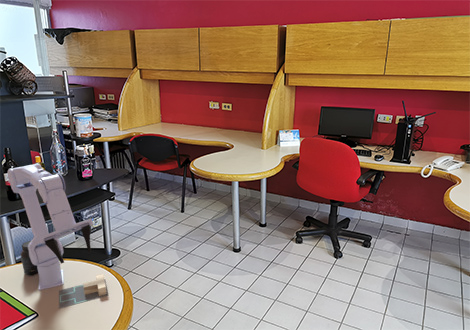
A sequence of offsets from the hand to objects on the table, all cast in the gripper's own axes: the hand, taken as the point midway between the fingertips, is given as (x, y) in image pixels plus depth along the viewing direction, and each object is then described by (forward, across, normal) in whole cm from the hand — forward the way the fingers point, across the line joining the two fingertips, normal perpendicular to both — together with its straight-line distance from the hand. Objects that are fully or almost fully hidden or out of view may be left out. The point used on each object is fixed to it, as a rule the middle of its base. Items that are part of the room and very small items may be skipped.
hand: (76, 257), depth 101 cm
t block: (+12, 0, +26) cm, 29 cm away
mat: (+12, -4, +26) cm, 29 cm away
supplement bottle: (-2, -19, +44) cm, 48 cm away
